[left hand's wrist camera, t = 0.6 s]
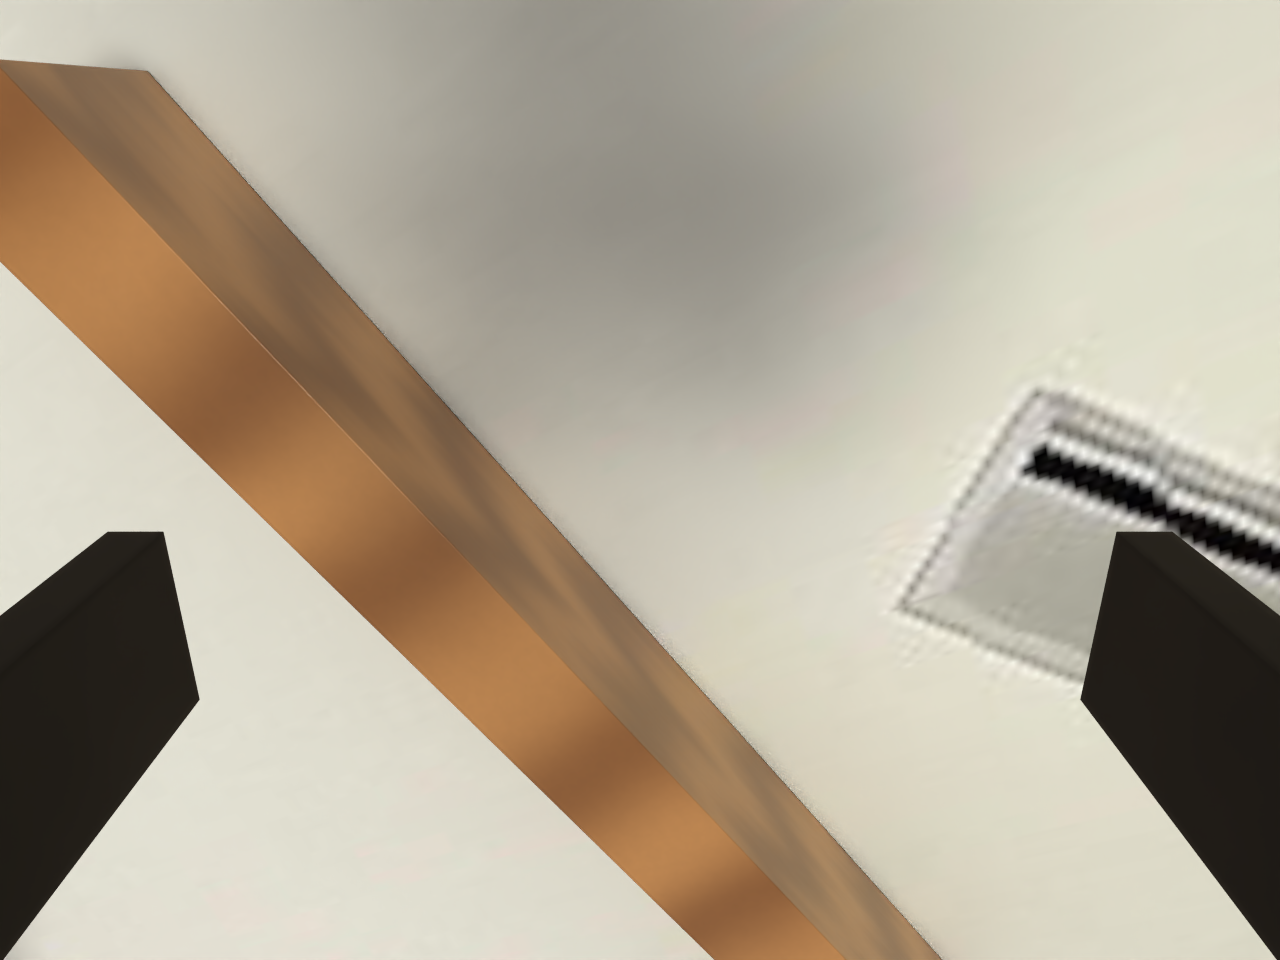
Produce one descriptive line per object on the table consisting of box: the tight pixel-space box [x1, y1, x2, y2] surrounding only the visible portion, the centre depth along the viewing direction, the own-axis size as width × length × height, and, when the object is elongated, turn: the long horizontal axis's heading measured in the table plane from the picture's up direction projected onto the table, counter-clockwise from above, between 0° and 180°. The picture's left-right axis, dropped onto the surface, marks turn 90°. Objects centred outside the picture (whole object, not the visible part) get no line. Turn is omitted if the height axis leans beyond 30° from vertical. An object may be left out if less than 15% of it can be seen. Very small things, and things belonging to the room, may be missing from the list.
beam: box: [0, 60, 941, 960], centre depth 39 cm, size 60×4×9 cm, turn 38°
